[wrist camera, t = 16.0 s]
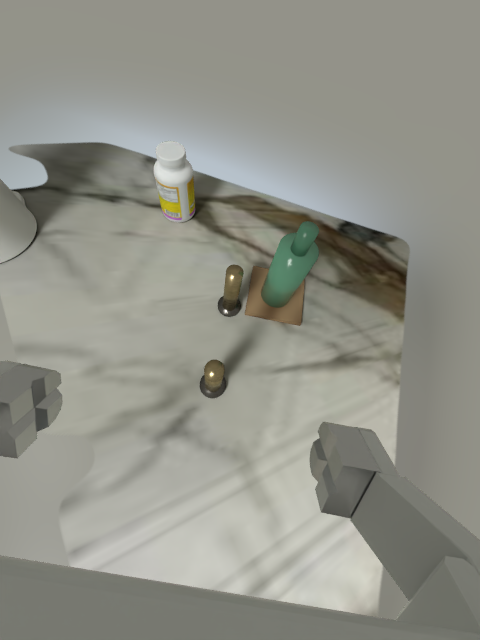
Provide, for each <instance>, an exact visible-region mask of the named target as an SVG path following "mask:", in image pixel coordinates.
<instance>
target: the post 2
mask: <svg viewBox="0 0 480 640" xmlns="http://www.w3.org/2000/svg"><path fill="white" fill-rule="evenodd" d="M242 277H243V269H242V268H241V267H240V266H238V265H231V266H229V267H228V268H227V270H226V279H225V287H224V296H223V297H221V298H220V300H219V301H218V310H219V311H220V313H221V314H223V315H224V316H228V317H231V316H235V315H236V314H237V313H238V312H239V310H240V307H241V304H240V301H239V299H238V295H239V291H240V286H241V282H242Z"/></svg>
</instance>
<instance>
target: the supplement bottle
mask: <svg viewBox="0 0 480 640" xmlns="http://www.w3.org/2000/svg"><path fill="white" fill-rule="evenodd" d="M156 155H157V161H156V163H155V165H154V175H155V180H156V184H157V189H158V194H159V199H160V203H161V208H162V212H163V214H164V215H165V217H166V218H167V219H169V220H171V221H173V222H185V221H187V220H189V219H191V218H192V217H193V215H194V213H195V197H194V182H193V169H192V166H191V164H190V163H189V162H188V161H187V160H186V152H185V148H184V147H183V146H182V145H181V144H179V143H177V142H174V141H166V142H162V143H160V144H159V145H158V146H157V148H156Z"/></svg>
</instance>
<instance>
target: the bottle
mask: <svg viewBox="0 0 480 640" xmlns="http://www.w3.org/2000/svg"><path fill="white" fill-rule="evenodd" d="M318 233H319V228H318V227H317V225H316V224H314V223H313V222H309V221H306V222H303V223H302V224H301V225H300V227H299V230H298V232H297V233H290V234H287V235H286V236H284V237H283V238H282V239H281V241H280V243H279V246H278V248H277V251H276V253H275V256H274V258H273V261H272V263H271V266H270V268H269V271H268V273H267V276H266V278H265V281H264V283H263V286H262V288H261V297H262V299H263V301H264V302H265V303H266V304H267V305H269V306H271V307H275V308H280V307H284V306H285V305H287V304H288V303H289V301H290V300H291V298H292V297H293V295H294V294H295V292H296V291H297V289H298V288H299V286H300V285H301V283H302V282H303V280H304V278H305V277H306V275H307V274H308V272H309V271H310V269H311V268H312V266H313V265H314V263H315V262H316V260H317V258H318V256H319V250H318V247H317V245H316V243H315V242H314V240H315V238H316V237H317V235H318Z"/></svg>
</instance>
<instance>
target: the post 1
mask: <svg viewBox="0 0 480 640" xmlns="http://www.w3.org/2000/svg"><path fill="white" fill-rule="evenodd" d="M224 372H225V368H224V365H223V364H222V362H220V361H218V360H211V361H209V362H208V363H207V364H206V365H205V368H204V374H205V375H204V376H203V377H202V378H201V381H200V389H201V392H202V393H203V394H204V395H205V396H206V397H208V398H217V397H219V396H220V395H222V394H223V392H224V390H225V387H226V381H225V378H224V377H223V375H224Z"/></svg>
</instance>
